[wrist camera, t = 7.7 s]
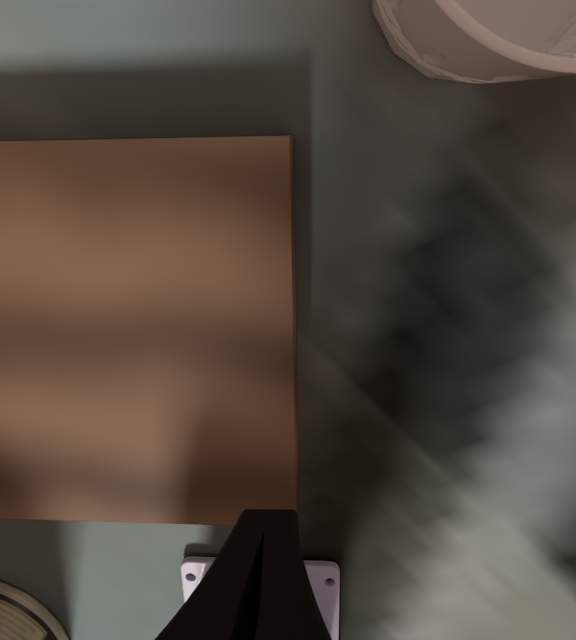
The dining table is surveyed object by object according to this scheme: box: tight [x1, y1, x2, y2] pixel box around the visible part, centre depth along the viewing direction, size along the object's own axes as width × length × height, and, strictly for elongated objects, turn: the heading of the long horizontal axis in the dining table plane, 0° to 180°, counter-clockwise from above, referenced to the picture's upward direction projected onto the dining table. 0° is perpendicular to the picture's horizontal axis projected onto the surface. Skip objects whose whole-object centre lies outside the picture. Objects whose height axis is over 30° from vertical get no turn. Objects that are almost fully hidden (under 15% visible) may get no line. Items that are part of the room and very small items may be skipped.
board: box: [0, 135, 299, 525], centre depth 22 cm, size 16×22×2 cm
